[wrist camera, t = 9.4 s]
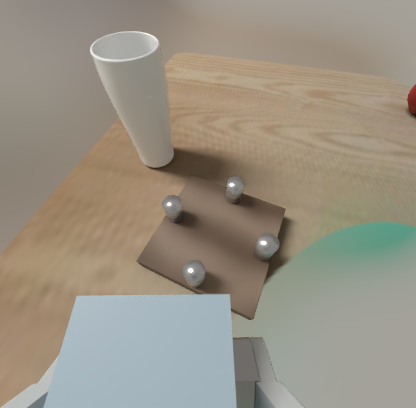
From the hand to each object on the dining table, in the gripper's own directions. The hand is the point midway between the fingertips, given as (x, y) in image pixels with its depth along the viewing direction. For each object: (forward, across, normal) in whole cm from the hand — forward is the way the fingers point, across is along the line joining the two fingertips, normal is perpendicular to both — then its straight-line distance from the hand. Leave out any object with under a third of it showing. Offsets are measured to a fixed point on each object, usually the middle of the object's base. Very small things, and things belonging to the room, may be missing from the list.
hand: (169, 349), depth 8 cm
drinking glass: (+27, +6, -7) cm, 28 cm away
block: (+3, 0, +4) cm, 4 cm away
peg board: (+16, -2, +2) cm, 17 cm away
